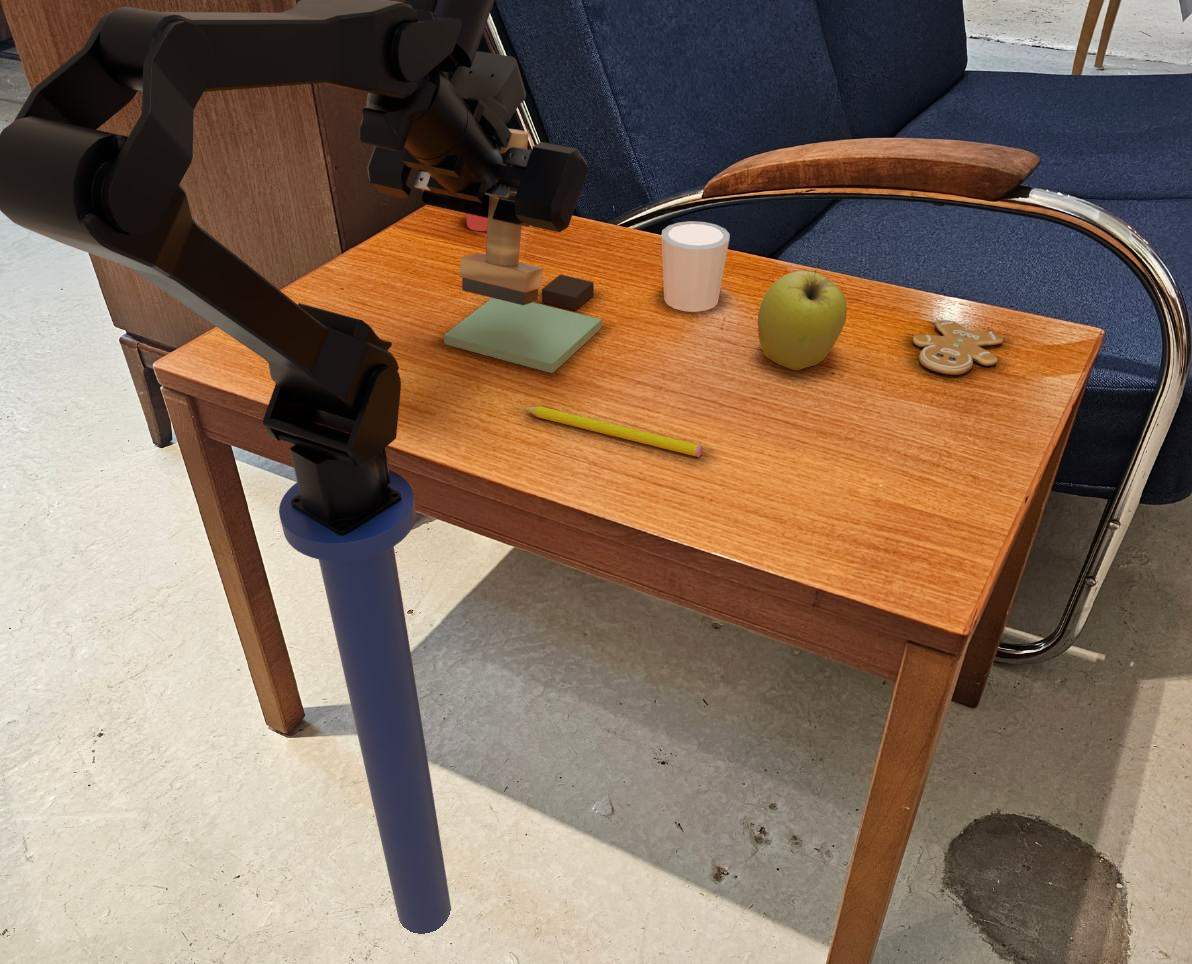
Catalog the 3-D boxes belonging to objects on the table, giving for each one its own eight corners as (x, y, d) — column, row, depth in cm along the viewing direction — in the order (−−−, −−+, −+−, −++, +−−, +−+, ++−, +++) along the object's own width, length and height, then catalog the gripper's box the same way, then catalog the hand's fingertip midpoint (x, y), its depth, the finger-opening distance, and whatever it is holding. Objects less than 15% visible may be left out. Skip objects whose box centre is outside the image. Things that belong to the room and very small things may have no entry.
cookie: (1015, 334, 102) (982, 377, 96) (1013, 343, 103) (979, 386, 96) (933, 311, 105) (895, 351, 99) (931, 320, 106) (893, 360, 100)
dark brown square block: (575, 311, 107) (575, 297, 106) (541, 302, 109) (541, 289, 108) (593, 295, 110) (593, 281, 109) (560, 287, 111) (560, 274, 110)
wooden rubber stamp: (524, 306, 94) (537, 137, 87) (458, 290, 97) (466, 124, 90) (540, 301, 97) (555, 136, 90) (476, 285, 99) (485, 123, 92)
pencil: (702, 453, 88) (702, 443, 88) (697, 459, 88) (698, 449, 87) (525, 410, 93) (525, 400, 92) (520, 415, 92) (520, 405, 92)
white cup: (731, 290, 111) (737, 225, 106) (715, 319, 106) (720, 252, 101) (668, 280, 113) (672, 216, 108) (649, 308, 108) (652, 242, 103)
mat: (552, 373, 98) (552, 364, 97) (444, 344, 102) (443, 334, 101) (601, 328, 105) (601, 319, 104) (498, 302, 109) (497, 293, 108)
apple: (745, 324, 103) (788, 233, 96) (820, 355, 103) (868, 265, 97) (736, 365, 97) (782, 270, 90) (816, 396, 98) (867, 305, 91)
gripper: (577, 40, 77) (637, 151, 91) (369, 9, 83) (456, 117, 98) (526, 183, 77) (594, 271, 91) (322, 141, 83) (416, 230, 98)
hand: (514, 218), depth 95 cm, fingers closed on wooden rubber stamp, 3 cm apart
